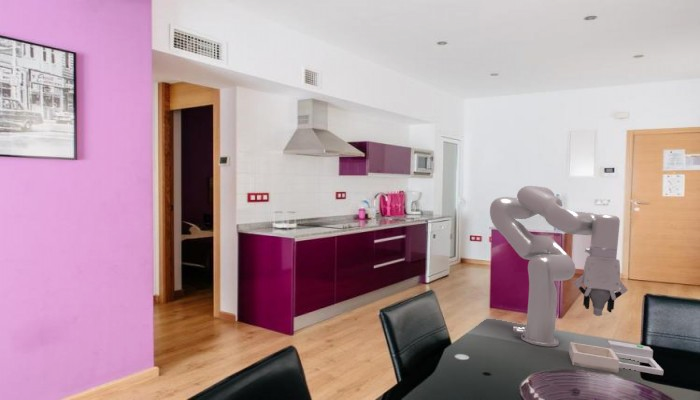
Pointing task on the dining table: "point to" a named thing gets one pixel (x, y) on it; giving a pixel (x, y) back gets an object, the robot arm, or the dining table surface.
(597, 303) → the light bulb
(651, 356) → the tester cradle
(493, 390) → the dining table surface
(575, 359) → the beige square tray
